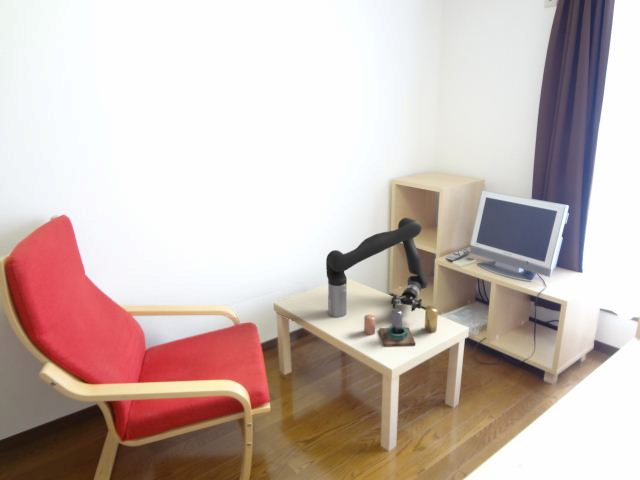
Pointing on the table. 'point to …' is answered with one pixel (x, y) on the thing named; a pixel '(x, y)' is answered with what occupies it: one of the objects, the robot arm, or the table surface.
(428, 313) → the brass peg
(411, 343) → the ring board
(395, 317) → the steel peg
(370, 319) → the terracotta peg
